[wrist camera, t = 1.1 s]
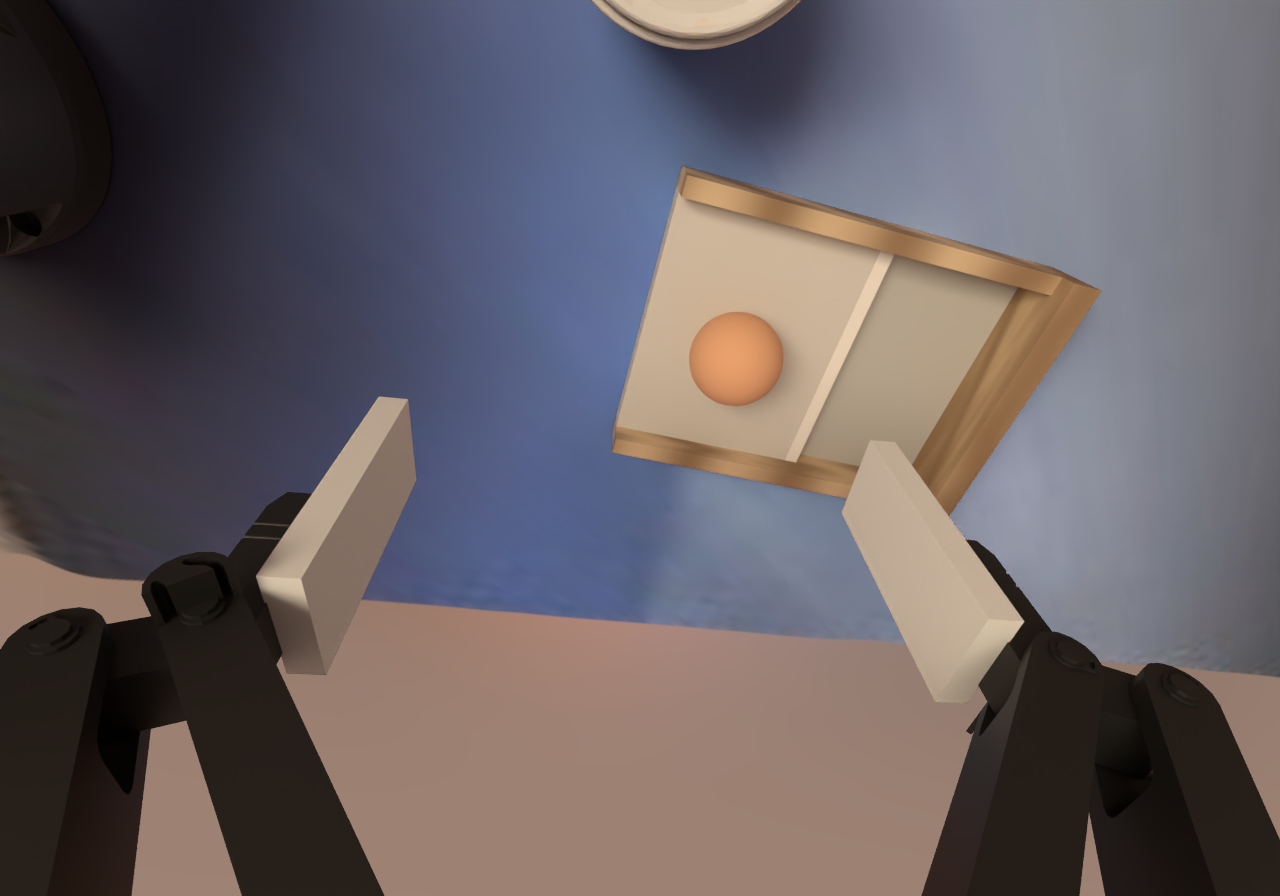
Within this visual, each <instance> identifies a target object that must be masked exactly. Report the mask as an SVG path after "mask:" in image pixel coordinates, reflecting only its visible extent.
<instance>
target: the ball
mask: <svg viewBox="0 0 1280 896" xmlns="http://www.w3.org/2000/svg"><path fill="white" fill-rule="evenodd" d="M689 366H690V372H691V375H692V377H693V380H694V382H695V384H696V385H697V387H698V388H699V389H700V390H701V392H702V393H703V394H705V395H706V396H707V397H708V398H710V399H712V400H713V401H715V402H717V403H720V404H724V405H729V406H742V405H747V404H750V403H753V402H755V401H757V400H759V399H761V398H762V397H764V396H765V395H766V394H767V393H768V392H770V390H771V389H772V388H773V387H774V385H775V384H776V382H777V381H778V379H779V377H780V374H781V371H782V367H783V349H782V344H781V342H780V339H779V337H778V335H777V334H776V332H775V331H774V329H773V328H772V327H771V326H770V325H769V324H768V323H767V322H766V321H764V320H763V319H761V318H760V317H758V316H756V315H753V314H750V313H745V312H729V313H725V314H722V315H719V316H717V317H715V318H713V319H711V320H710V321H708V322H707V323H706V324H705V325H704V326H703V327H702V328H701V329H700V330H699V332H698V333H697V334H696V336H695V338H694V340H693V342H692V345H691V349H690V354H689Z"/></svg>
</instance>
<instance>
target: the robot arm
mask: <svg viewBox="0 0 1280 896" xmlns="http://www.w3.org/2000/svg"><path fill="white" fill-rule="evenodd" d="M111 163H112V157H111V140H110V134H109V128H108V123H107V119H106V115H105V111H104V108H103V104H102V101H101V98H100V96H99V93H98V90H97V87H96V85H95V83H94V80H93V78H92V76H91V73H90V71H89V69H88V67H87V65H86V63H85V61H84V59H83V57H82V55H81V54H80V52H79V50H78V48H77V47H76V45H75V43H74V41H73V40H72V38H71V37H70V35H69V34H68V32H67V30H66V29H65V27H64V26H63V24H62V23H61V22H60V20H59V19H58V17H57V16H56V14H55V13H54V12H53V10H52V9H51V8H50V6H49V5H48V4H47V3H46V1H45V0H0V257H4V256H11V255H16V254H21V253H24V252H28V251H31V250H34V249H37V248H40V247H44V246H47V245H50V244H53V243H56V242H59V241H61V240H64V239H66V238H68V237H70V236H72V235H74V234H75V233H77V232H78V231H79V230H81V229H82V228H83V227H84V226H85V225H87V224H88V223H89V221H90V220H91V219H92V218H93V217H94V215H95V214H96V213H97V211H98V210H99V208H100V206H101V204H102V202H103V200H104V197H105V195H106V192H107V189H108V185H109V180H110V174H111ZM415 482H416V473H415V463H414V453H413V443H412V433H411V423H410V413H409V403H408V399H401V398H389V397H378V399H377V400H376V401H375V403H374V404H373V406H372V407H371V409H370V410H369V412H368V413H367V415H366V416H365V418H364V419H363V420H362V422H361V423H360V425H359V426H358V428H357V429H356V431H355V432H354V434H353V435H352V437H351V438H350V439H349V441H348V442H347V444H346V445H345V447H344V448H343V450H342V451H341V453H340V454H339V455H338V457H337V458H336V460H335V461H334V463H333V464H332V466H331V467H330V469H329V470H328V472H327V473H326V474H325V476H324V477H323V479H322V480H321V482H320V483H319V485H318V486H317V488H316V489H315V490H314V492H313V493H312V494H307V493H293V492H287V493H286V494H284V495H283V496H281V497H280V498H278V499H277V500H275V501H274V502H272V503H271V504H269V505H268V506H267V507H266V508H265V509H264V511H263V512H262V513H261V515H260V516H259V517H258V518H257V520H256V521H255V525H252V526H251V528H250V529H249V530H248V532H247V533H246V534H245V538H244V539H241V541H240V542H239V543H238V545H237V546H236V547H235V548H234V550H233V551H232V552H231V554H230V555H229V556H228V558H227V557H226V556H225V555H222V554H218V553H215V552H196V553H192V554H187V555H183V556H179V557H177V558H175V559H173V560H171V561H168V562H166V563H164V564H162V565H161V566H160V567H158V568H157V569H156V570H154V571H153V572H152V573H150V575H149V576H148V577H147V579H146V580H145V582H144V583H143V584H142V597H143V599H144V601H145V603H146V606H147V607H148V610H149V612H150V614H151V616H150V617H145V618H139V619H134V620H128V621H122V622H117V623H112V624H106V622H105V620H104V619H103V617H102V616H101V615H100V614H99V613H97V612H96V611H95V610H93V609H87V608H80V607H78V608H70V609H62V610H58V611H55V612H52V613H49V614H46V615H43V616H40V617H39V618H37V619H35V620H33V621H31V622H29V623H27V624H25V625H23V626H22V627H21V628H20V629H18V630H17V631H16V632H15V633H13V634H12V635H11V636H10V637H9V638H8V639H7V641H6V642H5V643H4V645H3V646H2V648H1V649H0V896H131V895H132V886H133V876H134V869H135V860H136V851H137V843H138V835H139V826H140V817H141V809H142V800H143V791H144V783H145V774H146V766H147V757H148V749H149V740H150V731H151V729H152V728H156V727H161V726H165V725H169V724H173V723H178V722H182V721H187V724H188V727H189V730H190V733H191V737H192V740H193V742H194V746H195V749H196V752H197V755H198V758H199V762H200V765H201V768H202V771H203V774H204V778H205V781H206V783H207V787H208V790H209V793H210V796H211V800H212V803H213V806H214V809H215V812H216V815H217V819H218V822H219V825H220V828H221V831H222V834H223V837H224V841H225V843H226V847H227V850H228V853H229V856H230V860H231V863H232V866H233V869H234V872H235V875H236V878H237V882H238V885H239V888H240V891H241V894H242V896H384V894H383V892H382V889H381V887H380V885H379V883H378V881H377V879H376V877H375V875H374V872H373V870H372V868H371V866H370V864H369V862H368V860H367V858H366V855H365V853H364V851H363V849H362V847H361V845H360V843H359V840H358V838H357V836H356V834H355V832H354V830H353V828H352V825H351V823H350V821H349V819H348V817H347V815H346V813H345V811H344V808H343V806H342V804H341V802H340V800H339V798H338V796H337V794H336V791H335V789H334V787H333V785H332V783H331V781H330V778H329V776H328V774H327V772H326V770H325V768H324V766H323V763H322V762H321V759H320V757H319V755H318V753H317V751H316V749H315V746H314V745H313V742H312V740H311V738H310V736H309V734H308V731H307V729H306V727H305V725H304V723H303V721H302V719H301V716H300V714H299V712H298V710H297V708H296V706H295V704H294V701H293V700H292V697H291V695H290V693H289V691H288V689H287V687H286V684H285V682H284V680H283V678H282V676H281V674H280V672H279V669H278V667H277V665H276V664H277V662H278V660H279V659H280V657H282V660H283V663H284V666H285V669H286V673H291V674H313V675H326V674H327V672H328V670H329V668H330V666H331V663H332V661H333V659H334V657H335V655H336V653H337V650H338V648H339V646H340V644H341V642H342V640H343V638H344V636H345V633H346V631H347V629H348V627H349V625H350V623H351V620H352V618H353V616H354V614H355V612H356V609H357V607H358V605H359V603H360V601H361V599H362V597H363V595H364V592H365V590H366V588H367V586H368V584H369V582H370V579H371V577H372V575H373V573H374V571H375V569H376V567H377V564H378V562H379V560H380V558H381V556H382V554H383V551H384V549H385V547H386V545H387V543H388V541H389V538H390V536H391V534H392V532H393V530H394V528H395V526H396V523H397V521H398V519H399V517H400V515H401V513H402V510H403V508H404V506H405V504H406V502H407V500H408V497H409V495H410V493H411V491H412V489H413V487H414V485H415ZM842 515H843V517H844V519H845V521H846V523H847V525H848V527H849V529H850V531H851V533H852V535H853V537H854V539H855V541H856V543H857V545H858V547H859V549H860V551H861V553H862V555H863V557H864V559H865V561H866V564H867V566H868V568H869V570H870V572H871V574H872V576H873V578H874V580H875V582H876V584H877V586H878V588H879V590H880V592H881V594H882V596H883V598H884V600H885V602H886V604H887V606H888V608H889V610H890V612H891V614H892V616H893V618H894V620H895V622H896V624H897V626H898V628H899V630H900V632H901V635H902V637H903V639H904V641H905V643H906V645H907V647H908V649H909V651H910V653H911V655H912V657H913V659H914V661H915V663H916V665H917V667H918V669H919V671H920V673H921V675H922V677H923V679H924V681H925V683H926V685H927V687H928V689H929V691H930V693H931V695H932V697H933V699H934V701H935V702H946V703H967V702H968V701H969V699H970V698H971V697H972V695H973V694H974V692H975V691H976V690H977V688H978V687H980V689H981V691H982V693H983V694H984V696H985V698H986V700H987V701H988V702H987V703H986V705H985V706H984V707H983V709H982V710H981V711H980V713H979V714H978V716H977V717H976V718H975V720H974V721H973V723H972V724H971V725H970V727H969V728H968V729H967V732H968V733H970V734H972V733H973V732H974V734H973V736H972V740H971V743H970V746H969V749H968V752H967V755H966V758H965V762H964V765H963V768H962V771H961V774H960V777H959V780H958V783H957V786H956V790H955V793H954V796H953V799H952V802H951V805H950V809H949V811H948V815H947V818H946V821H945V824H944V827H943V830H942V833H941V836H940V839H939V843H938V846H937V849H936V852H935V855H934V858H933V861H932V864H931V868H930V871H929V874H928V877H927V880H926V883H925V886H924V890H923V893H922V896H1079V894H1080V885H1081V877H1082V868H1083V859H1084V850H1085V841H1086V833H1087V824H1088V815H1089V813H1090V819H1091V824H1092V829H1093V834H1094V839H1095V844H1096V850H1097V855H1098V860H1099V865H1100V871H1101V875H1102V881H1103V886H1104V891H1105V896H1280V839H1279V837H1278V835H1277V832H1276V830H1275V828H1274V826H1273V824H1272V821H1271V819H1270V817H1269V814H1268V812H1267V810H1266V808H1265V806H1264V803H1263V801H1262V799H1261V797H1260V794H1259V792H1258V790H1257V788H1256V785H1255V783H1254V781H1253V778H1252V776H1251V774H1250V772H1249V769H1248V767H1247V765H1246V763H1245V760H1244V758H1243V756H1242V754H1241V752H1240V749H1239V747H1238V745H1237V743H1236V740H1235V738H1234V736H1233V734H1232V731H1231V729H1230V727H1229V725H1228V722H1227V720H1226V718H1225V716H1224V713H1223V711H1222V709H1221V707H1220V705H1219V703H1218V702H1217V700H1216V699H1215V697H1214V696H1213V694H1212V693H1211V692H1210V691H1209V690H1208V689H1207V688H1206V687H1204V685H1202V684H1201V683H1200V682H1199V681H1198V680H1196V679H1195V678H1193V677H1192V676H1190V675H1189V674H1187V673H1185V672H1183V671H1181V670H1179V669H1177V668H1175V667H1172V666H1169V665H1165V664H1161V663H1150V664H1148V665H1147V666H1145V667H1144V668H1143V669H1142V670H1141V672H1140V673H1139V674H1138V675H1137V676H1135V675H1131V674H1128V673H1125V672H1121V671H1118V670H1115V669H1112V668H1108V667H1105V666H1102V665H1101V663H1100V662H1099V660H1098V659H1097V657H1096V656H1095V655H1094V654H1093V653H1092V652H1091V651H1090V650H1089V649H1088V648H1087V647H1085V646H1084V645H1083V644H1081V643H1079V642H1078V641H1076V640H1075V639H1073V638H1071V637H1069V636H1066V635H1064V634H1061V633H1059V632H1052V631H1051V630H1050V628H1049V627H1048V626H1047V624H1046V623H1045V622H1044V620H1043V619H1042V618H1041V616H1040V615H1039V614H1038V612H1037V611H1036V610H1035V608H1034V607H1033V606H1032V604H1031V603H1030V602H1029V600H1028V599H1027V598H1026V596H1025V595H1024V594H1023V592H1022V591H1021V590H1020V589H1019V587H1016V583H1015V582H1014V581H1013V579H1012V578H1011V577H1010V575H1009V574H1006V570H1005V569H1004V567H1003V566H1002V565H1001V563H1000V562H999V561H998V559H997V558H996V557H995V555H993V554H992V553H991V552H990V551H988V550H987V549H986V548H985V547H984V546H982V545H981V544H980V543H979V542H977V541H975V540H965V538H964V537H963V536H962V534H961V533H960V531H959V530H958V529H957V527H956V526H955V524H954V523H953V522H952V520H951V519H950V518H949V516H948V515H947V513H946V512H945V511H944V509H943V508H942V506H941V505H940V504H939V502H938V501H937V499H936V498H935V497H934V495H933V494H932V493H931V491H930V490H929V488H928V487H927V486H926V484H925V483H924V481H923V480H922V479H921V477H920V476H919V475H918V473H917V472H916V470H915V469H914V468H913V466H912V465H911V463H910V462H909V461H908V459H907V458H906V456H905V455H904V454H903V452H902V451H901V450H900V448H899V447H898V445H897V444H896V443H895V442H888V441H877V440H870V442H869V444H868V447H867V449H866V452H865V455H864V457H863V460H862V462H861V465H860V467H859V470H858V472H857V475H856V477H855V480H854V482H853V485H852V487H851V490H850V492H849V495H848V497H847V500H846V502H845V505H844V508H843V510H842Z"/></svg>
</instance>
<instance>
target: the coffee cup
mask: <svg viewBox="0 0 1280 896" xmlns="http://www.w3.org/2000/svg"><path fill="white" fill-rule="evenodd" d="M591 1H592V2H593V3H594V4H595V5H596V6H597V7H598V8H599V9H600V10H601V11H602V12H603V13H604V14H605V15H606V16H607V17H609V18H610V19H611V20H612V21H614V22H615V23H616V24H618V25H619V26H621V27H622V28H624V29H625V30H627V31H628V32H630V33H632V34H634V35H636V36H638V37H640V38H642V39H644V40H646V41H649V42H652V43H655V44H658V45H661V46H665V47H670V48H675V49H685V50H702V49H712V48H717V47H723V46H727V45H730V44H733V43H736V42H739V41H742V40H744V39H747V38H749V37H751V36H753V35H755V34H757V33H759V32H761V31H763V30H764V29H766V28H768V27H769V26H771V25H772V24H774V23H775V22H777V21H778V20H779V19H781V18H782V17H783V16H784V15H786V14H787V13H788V12H789V11H791V10H792V9H793V8H794V7H795V6H796V5H797V4H798V3H799V2H800V1H801V0H591Z"/></svg>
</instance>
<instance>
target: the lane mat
mask: <svg viewBox="0 0 1280 896" xmlns="http://www.w3.org/2000/svg"><path fill="white" fill-rule="evenodd" d="M1017 288H1018V287H1016V286H1012V285H1009V284H1005V283H1001V282H997V281H994V280H990V279H986V278H982V277H979V276H975V275H971V274H967V273H964V272H960V271H956V270H952V269H949V268H945V267H941V266H937V265H934V264H930V263H926V262H922V261H919V260H915V259H911V258H907V257H904V256H900V255H896V254H892V253H889V252H885V251H881V250H878V249H874V248H870V247H866V246H863V245H859V244H855V243H851V242H848V241H844V240H840V239H836V238H833V237H829V236H825V235H821V234H818V233H814V232H810V231H806V230H803V229H799V228H795V227H791V226H788V225H784V224H780V223H776V222H773V221H769V220H765V219H761V218H758V217H754V216H750V215H746V214H743V213H739V212H735V211H731V210H728V209H724V208H720V207H716V206H713V205H709V204H705V203H701V202H698V201H694V200H690V199H686V198H683V197H681V195H680V193H679V190H678V188H677V187H676V191H675V195H674V198H673V202H672V206H671V210H670V214H669V217H668V221H667V225H666V229H665V233H664V236H663V240H662V244H661V248H660V252H659V255H658V259H657V263H656V267H655V270H654V274H653V278H652V282H651V286H650V289H649V293H648V297H647V301H646V305H645V308H644V312H643V316H642V320H641V324H640V327H639V331H638V335H637V339H636V343H635V346H634V350H633V354H632V358H631V362H630V365H629V369H628V373H627V377H626V380H625V384H624V388H623V392H622V396H621V399H620V403H619V407H618V411H617V420H616V426H618V427H623V428H628V429H633V430H638V431H643V432H648V433H653V434H658V435H663V436H668V437H673V438H677V439H682V440H687V441H692V442H697V443H702V444H707V445H712V446H717V447H722V448H727V449H732V450H737V451H741V452H746V453H751V454H756V455H761V456H766V457H771V458H776V459H781V460H786V461H791V462H797V460H798V457H799V455H800V454H802V455H806V456H811V457H816V458H821V459H826V460H831V461H836V462H840V463H845V464H850V465H855V466H860V465H861V462H862V460H863V457H864V455H865V452H866V449H867V447H868V444H869V442H870V440H877V441H888V442H895V443H896V444H897V445H898V447H899V448H900V450H901V451H902V452H903V454H904V455H905V456H906V458H907V459H908V461H909V462H910V463H911V465H912V464H913V462H914V460H915V459H916V457H917V455H918V454H919V452H920V450H921V449H922V447H923V445H924V444H925V442H926V440H927V439H928V437H929V435H930V434H931V432H932V430H933V429H934V427H935V425H936V424H937V422H938V420H939V419H940V417H941V415H942V414H943V412H944V410H945V409H946V407H947V405H948V404H949V402H950V400H951V399H952V397H953V395H954V394H955V392H956V390H957V389H958V387H959V385H960V384H961V382H962V380H963V379H964V377H965V375H966V374H967V372H968V370H969V369H970V367H971V365H972V364H973V362H974V360H975V358H976V357H977V355H978V353H979V352H980V350H981V348H982V347H983V345H984V343H985V342H986V340H987V338H988V337H989V335H990V333H991V332H992V330H993V328H994V327H995V325H996V323H997V322H998V320H999V318H1000V317H1001V315H1002V313H1003V312H1004V310H1005V308H1006V307H1007V305H1008V303H1009V302H1010V300H1011V298H1012V297H1013V295H1014V293H1015V292H1016V290H1017ZM729 312H745V313H750V314H753V315H756V316H758V317H760V318H761V319H763V320H764V321H766V322H767V323H768V324H769V325H770V326H771V327H772V328H773V329H774V331H775V332H776V334H777V335H778V337H779V339H780V342H781V344H782V349H783V367H782V371H781V374H780V377H779V379H778V381H777V382H776V384H775V385H774V387H773V388H772V389H771V390H770V392H768V393H767V394H766V395H765V396H764V397H762V398H761V399H759V400H757V401H755V402H753V403H750V404H747V405H742V406H729V405H724V404H720V403H717V402H715V401H713V400H712V399H710V398H708V397H707V396H706V395H705V394H703V393H702V392H701V390H700V389H699V388H698V387H697V385H696V384H695V382H694V380H693V377H692V375H691V372H690V366H689V354H690V349H691V345H692V342H693V340H694V338H695V336H696V334H697V333H698V332H699V330H700V329H701V328H702V327H703V326H704V325H705V324H706V323H707V322H708V321H710V320H711V319H713V318H715V317H717V316H719V315H722V314H725V313H729Z"/></svg>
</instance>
